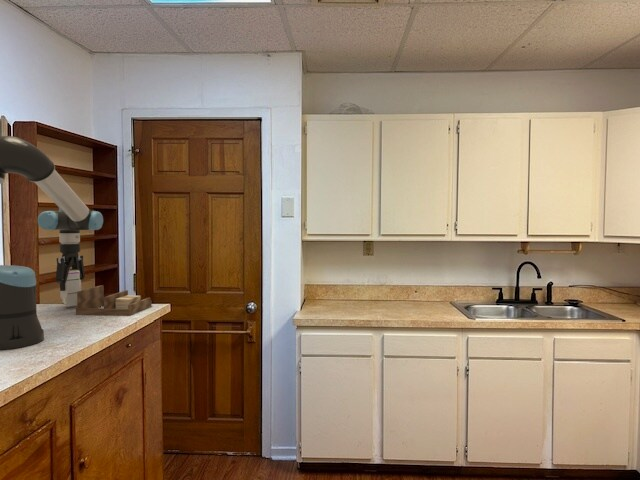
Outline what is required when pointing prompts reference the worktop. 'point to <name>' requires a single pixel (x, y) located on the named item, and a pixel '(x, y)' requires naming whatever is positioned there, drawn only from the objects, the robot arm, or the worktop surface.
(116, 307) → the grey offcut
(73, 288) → the syrup box
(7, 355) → the worktop surface
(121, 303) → the birch offcut
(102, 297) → the walnut rack
